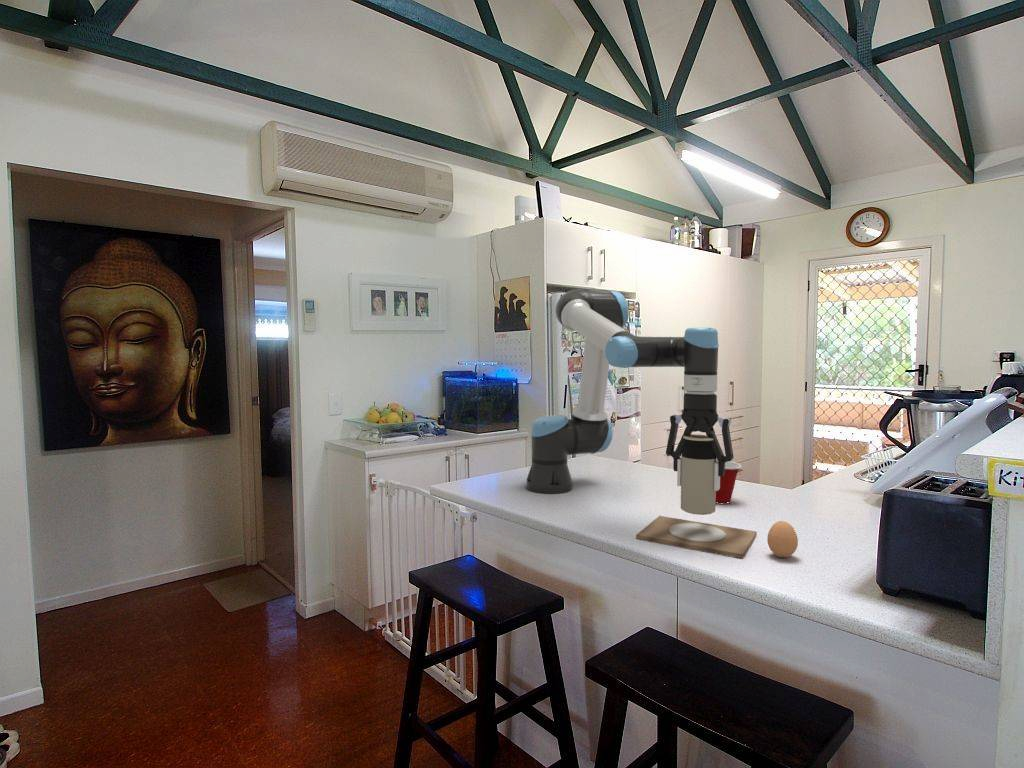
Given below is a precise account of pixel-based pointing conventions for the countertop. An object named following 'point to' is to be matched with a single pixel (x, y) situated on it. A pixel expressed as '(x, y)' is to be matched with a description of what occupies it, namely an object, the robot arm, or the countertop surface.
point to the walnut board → (698, 536)
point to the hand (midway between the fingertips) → (698, 487)
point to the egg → (782, 539)
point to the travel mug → (698, 475)
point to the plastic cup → (727, 482)
